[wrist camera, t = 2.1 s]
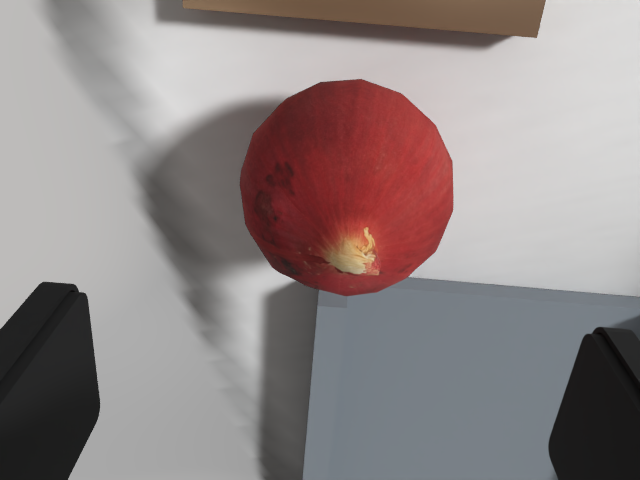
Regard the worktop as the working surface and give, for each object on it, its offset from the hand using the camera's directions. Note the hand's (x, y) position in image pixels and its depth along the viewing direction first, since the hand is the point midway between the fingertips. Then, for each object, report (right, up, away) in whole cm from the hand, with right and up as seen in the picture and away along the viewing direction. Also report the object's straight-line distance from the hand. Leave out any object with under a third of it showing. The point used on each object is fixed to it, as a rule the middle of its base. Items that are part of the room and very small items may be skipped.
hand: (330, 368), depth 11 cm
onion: (+1, +6, +9) cm, 10 cm away
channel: (+6, -7, +15) cm, 18 cm away
